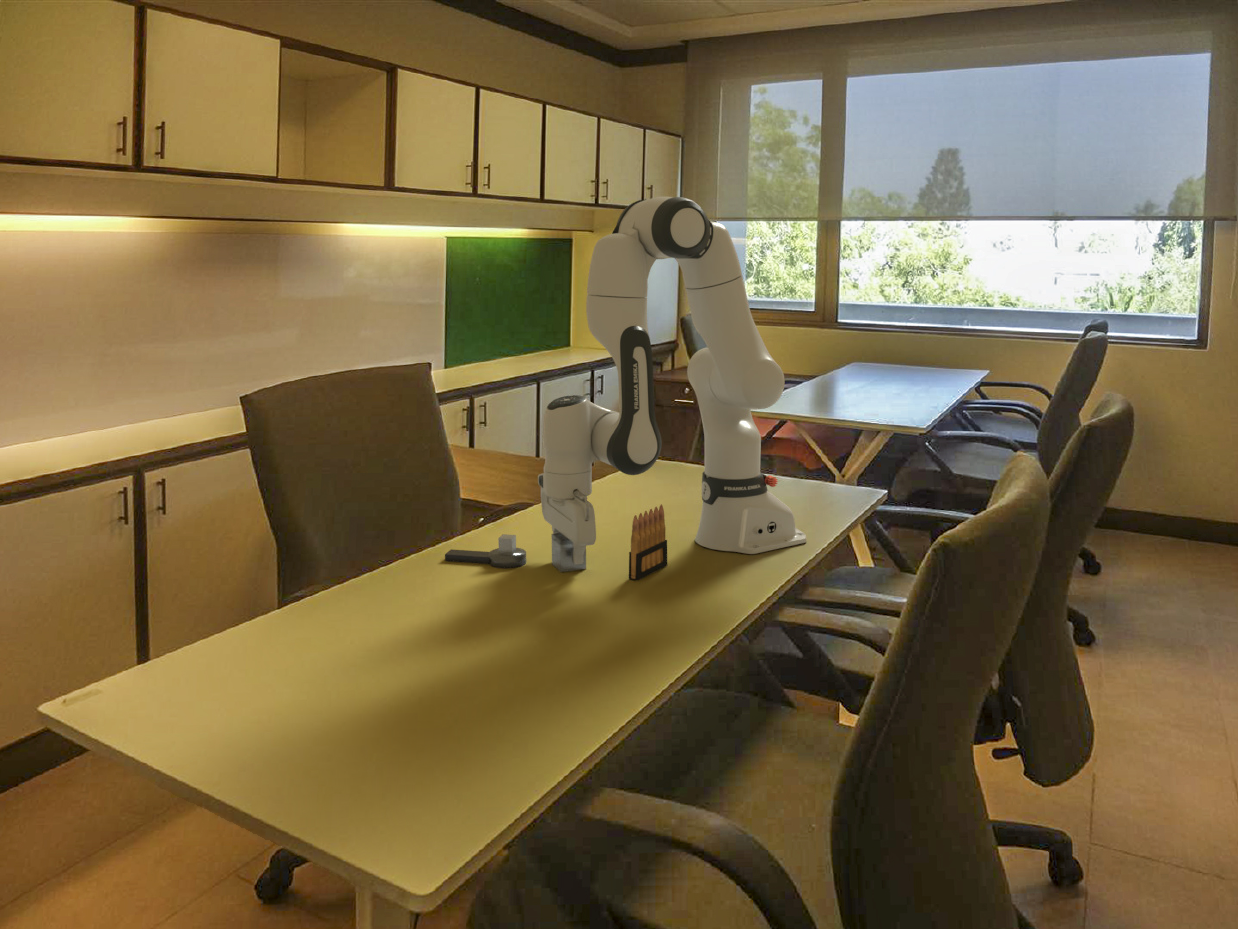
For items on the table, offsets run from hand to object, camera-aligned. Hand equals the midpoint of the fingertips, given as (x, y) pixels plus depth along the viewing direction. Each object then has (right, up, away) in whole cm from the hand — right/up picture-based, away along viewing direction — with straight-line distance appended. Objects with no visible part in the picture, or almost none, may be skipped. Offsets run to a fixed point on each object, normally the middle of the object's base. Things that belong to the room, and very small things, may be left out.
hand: (568, 555), depth 201 cm
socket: (0, -2, 0) cm, 2 cm away
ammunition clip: (+15, -3, -3) cm, 15 cm away
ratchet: (-16, -1, +4) cm, 16 cm away
